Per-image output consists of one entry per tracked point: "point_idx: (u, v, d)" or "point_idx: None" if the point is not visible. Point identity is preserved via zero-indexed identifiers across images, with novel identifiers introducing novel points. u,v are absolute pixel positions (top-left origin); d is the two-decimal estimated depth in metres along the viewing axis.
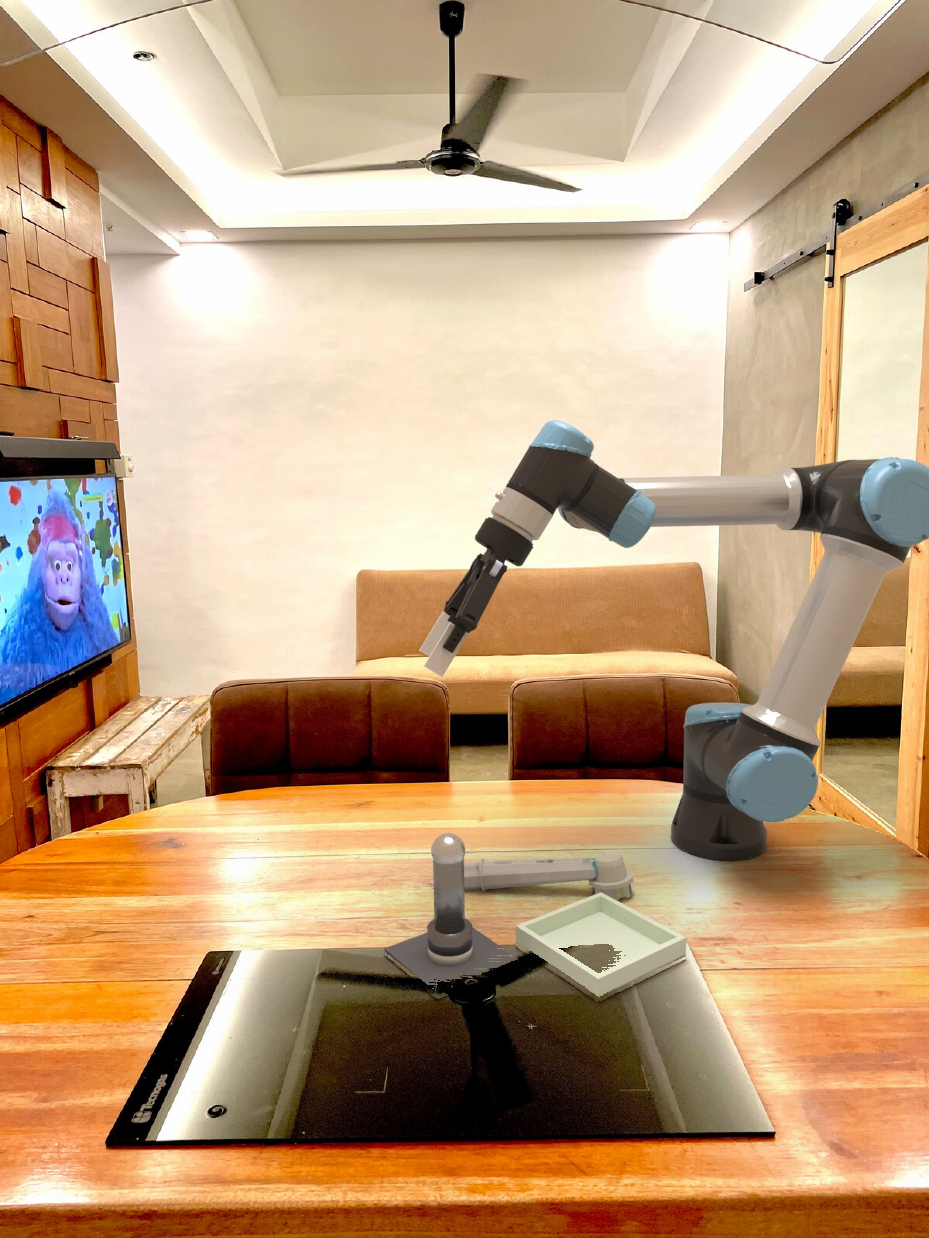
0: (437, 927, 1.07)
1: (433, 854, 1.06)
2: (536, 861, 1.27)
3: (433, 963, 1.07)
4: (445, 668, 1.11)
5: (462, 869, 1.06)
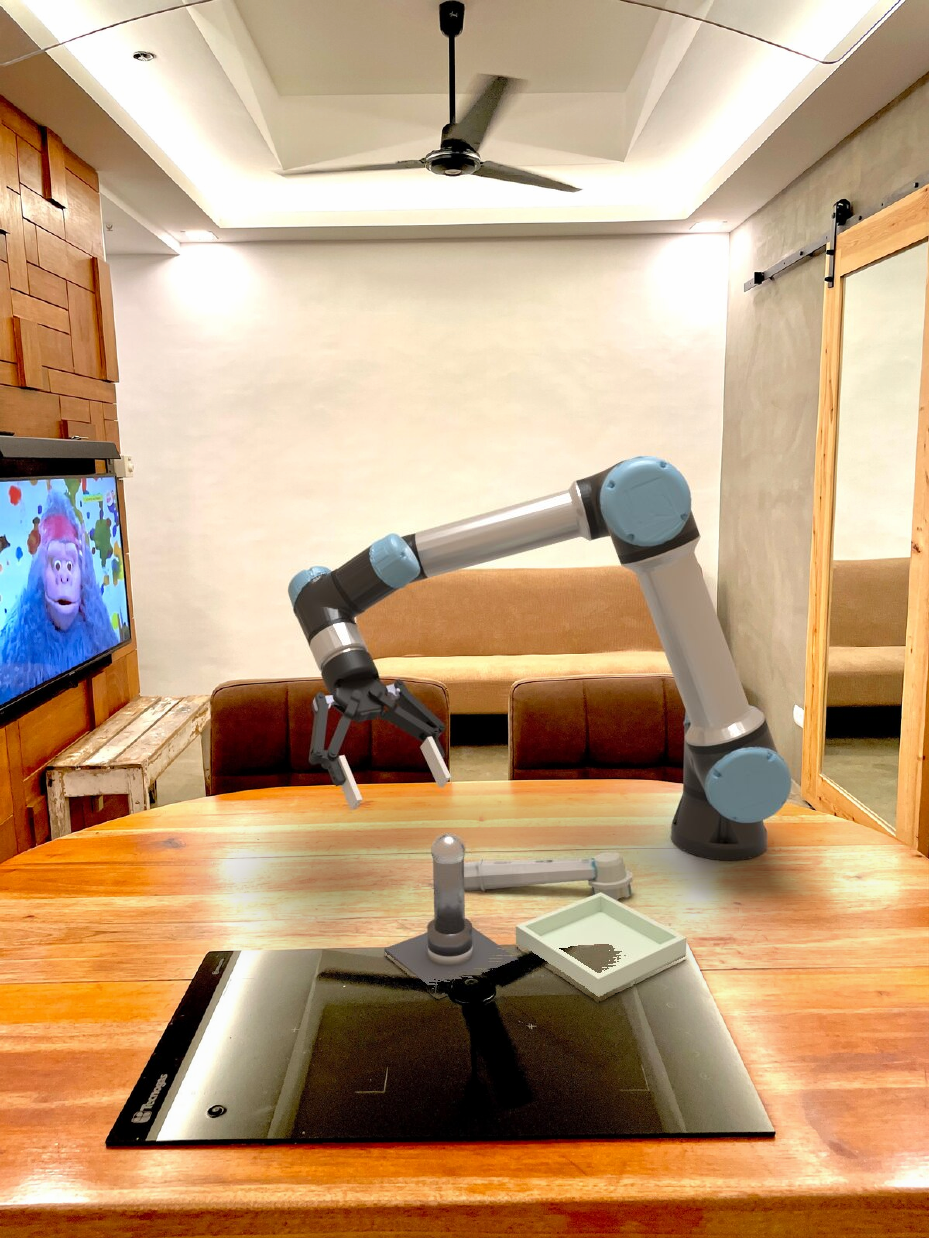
0: (437, 927, 1.07)
1: (433, 854, 1.06)
2: (535, 861, 1.27)
3: (433, 963, 1.07)
4: (353, 793, 1.10)
5: (462, 869, 1.06)
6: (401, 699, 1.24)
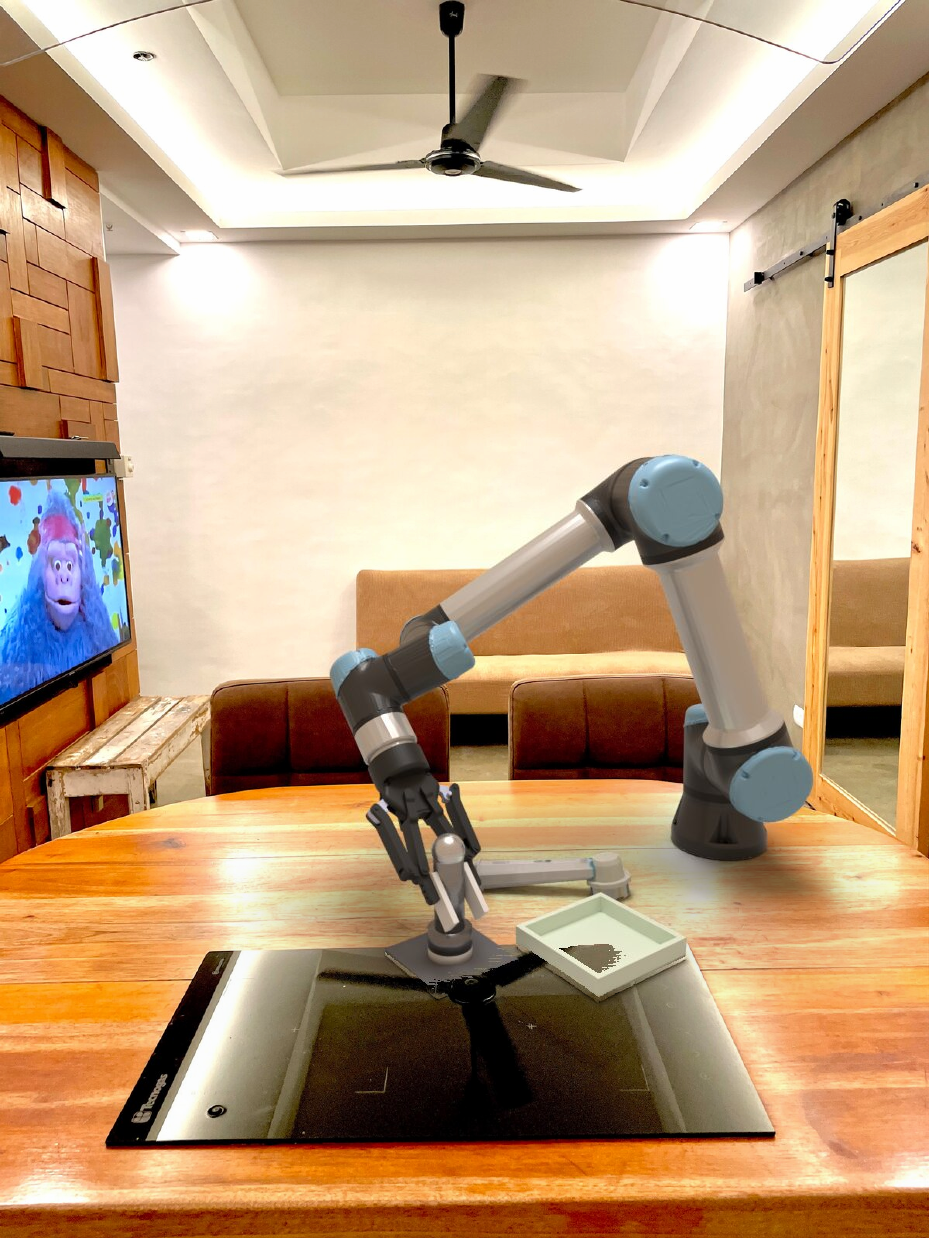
0: (437, 927, 1.07)
1: (433, 854, 1.06)
2: (534, 861, 1.27)
3: (433, 963, 1.07)
4: (449, 915, 1.03)
5: (462, 869, 1.06)
6: (449, 804, 1.14)
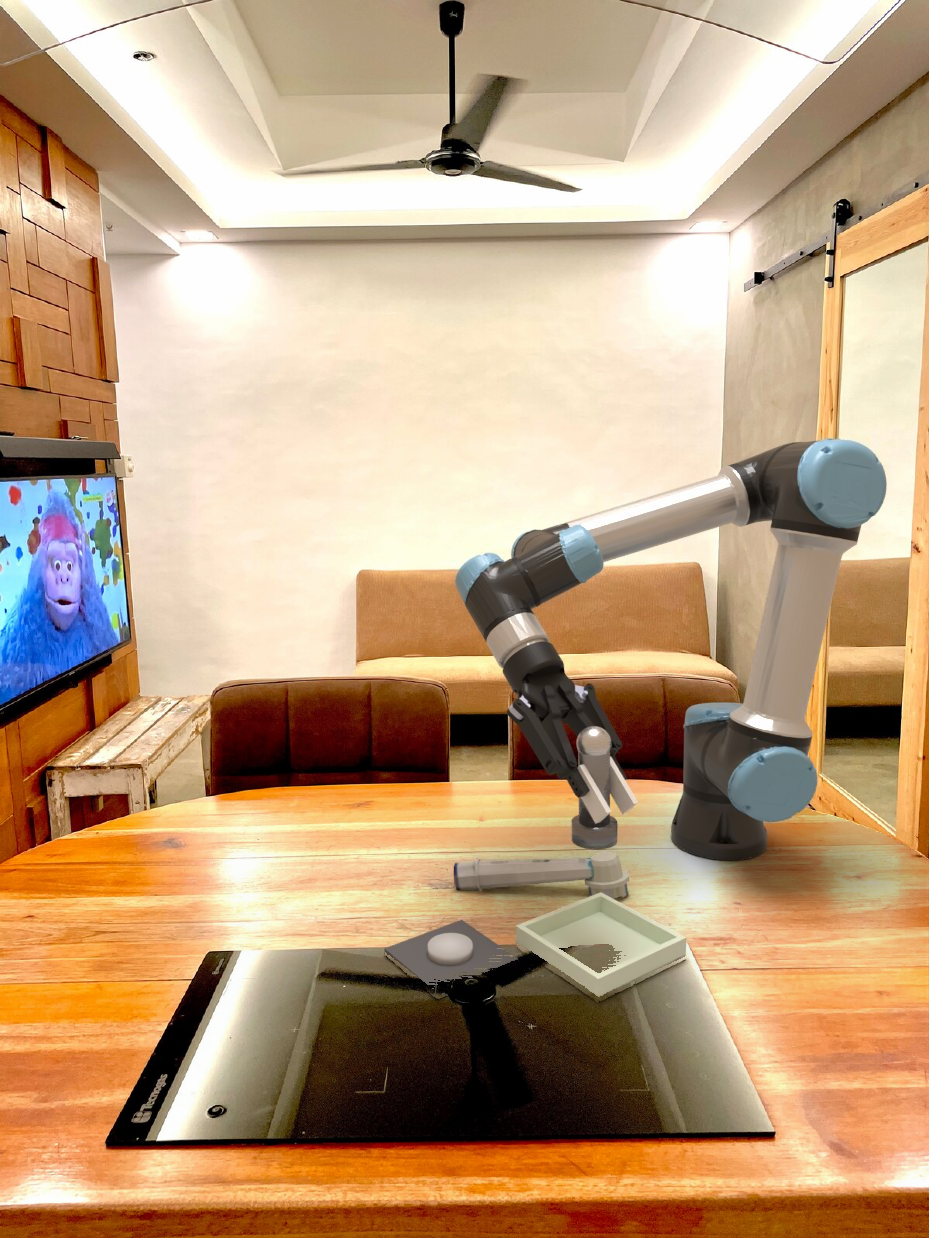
0: (583, 821, 1.06)
1: (580, 746, 1.05)
2: (532, 861, 1.27)
3: (433, 963, 1.07)
4: (601, 805, 1.02)
5: (609, 761, 1.05)
6: (586, 704, 1.13)
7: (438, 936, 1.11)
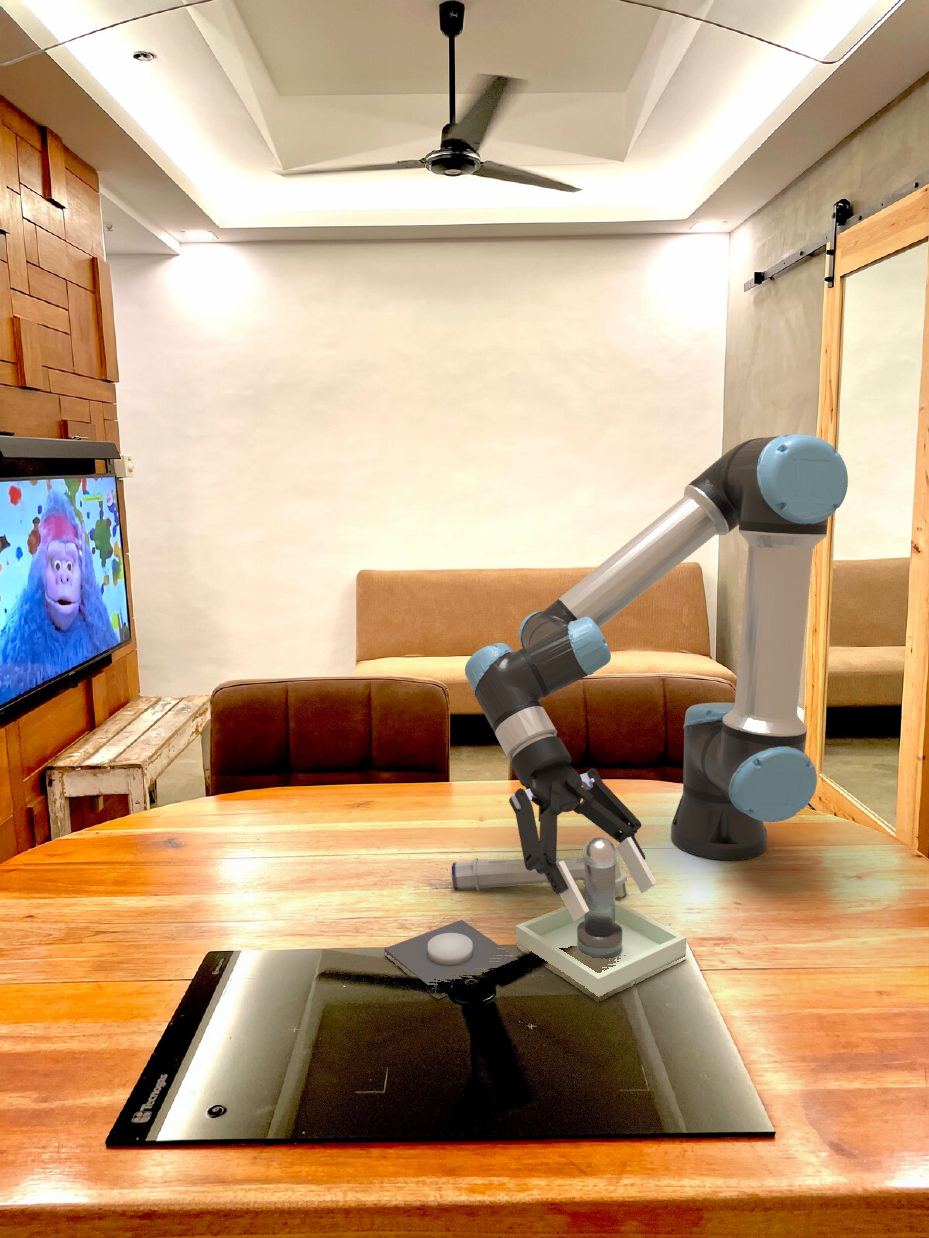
0: (588, 930, 1.09)
1: (586, 858, 1.07)
2: None
3: (433, 963, 1.07)
4: (579, 903, 1.03)
5: (614, 873, 1.08)
6: (594, 790, 1.16)
7: (438, 936, 1.11)
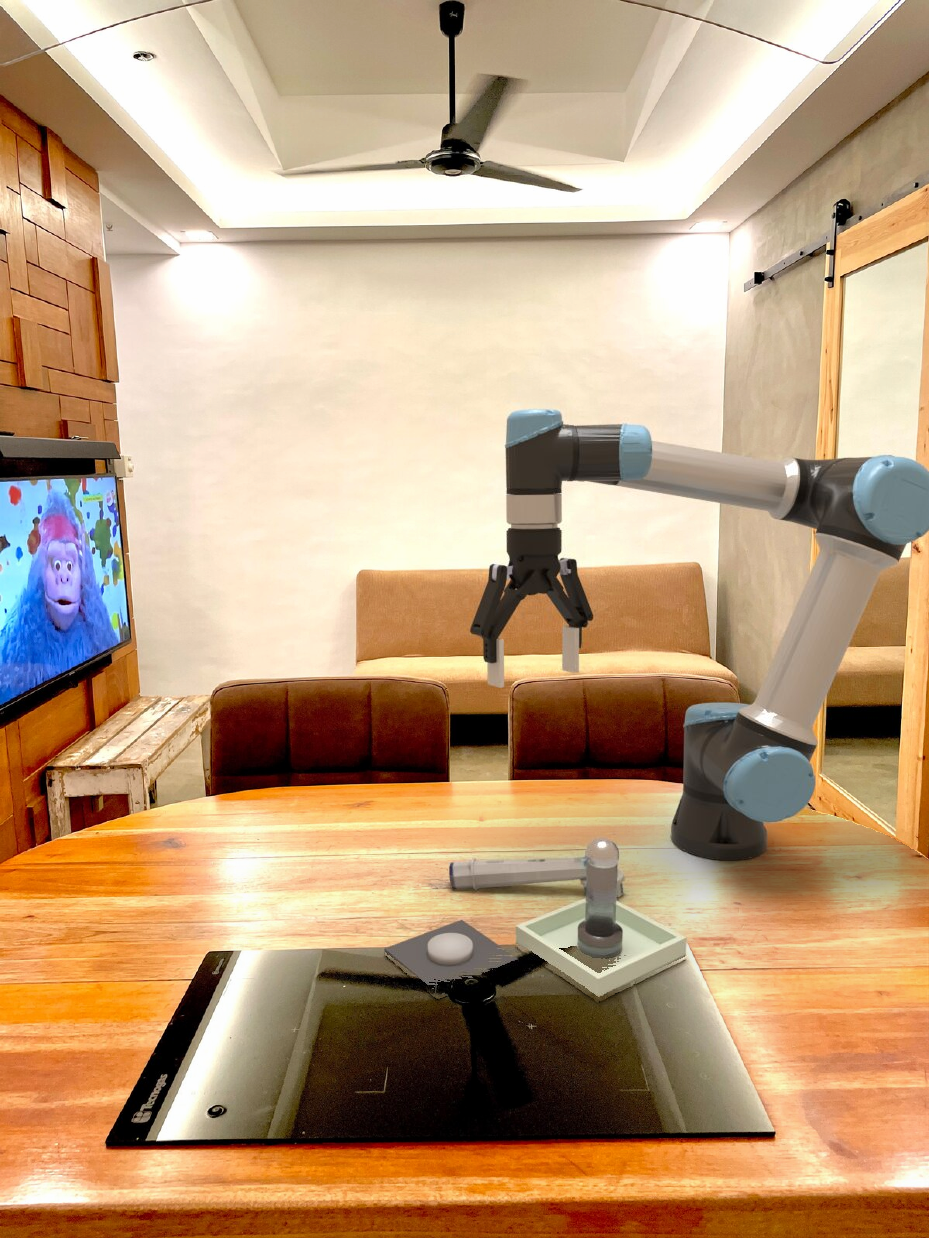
0: (589, 929, 1.09)
1: (589, 858, 1.07)
2: (528, 860, 1.27)
3: (433, 963, 1.07)
4: (498, 679, 1.17)
5: (616, 873, 1.08)
6: (567, 577, 1.23)
7: (438, 936, 1.11)
